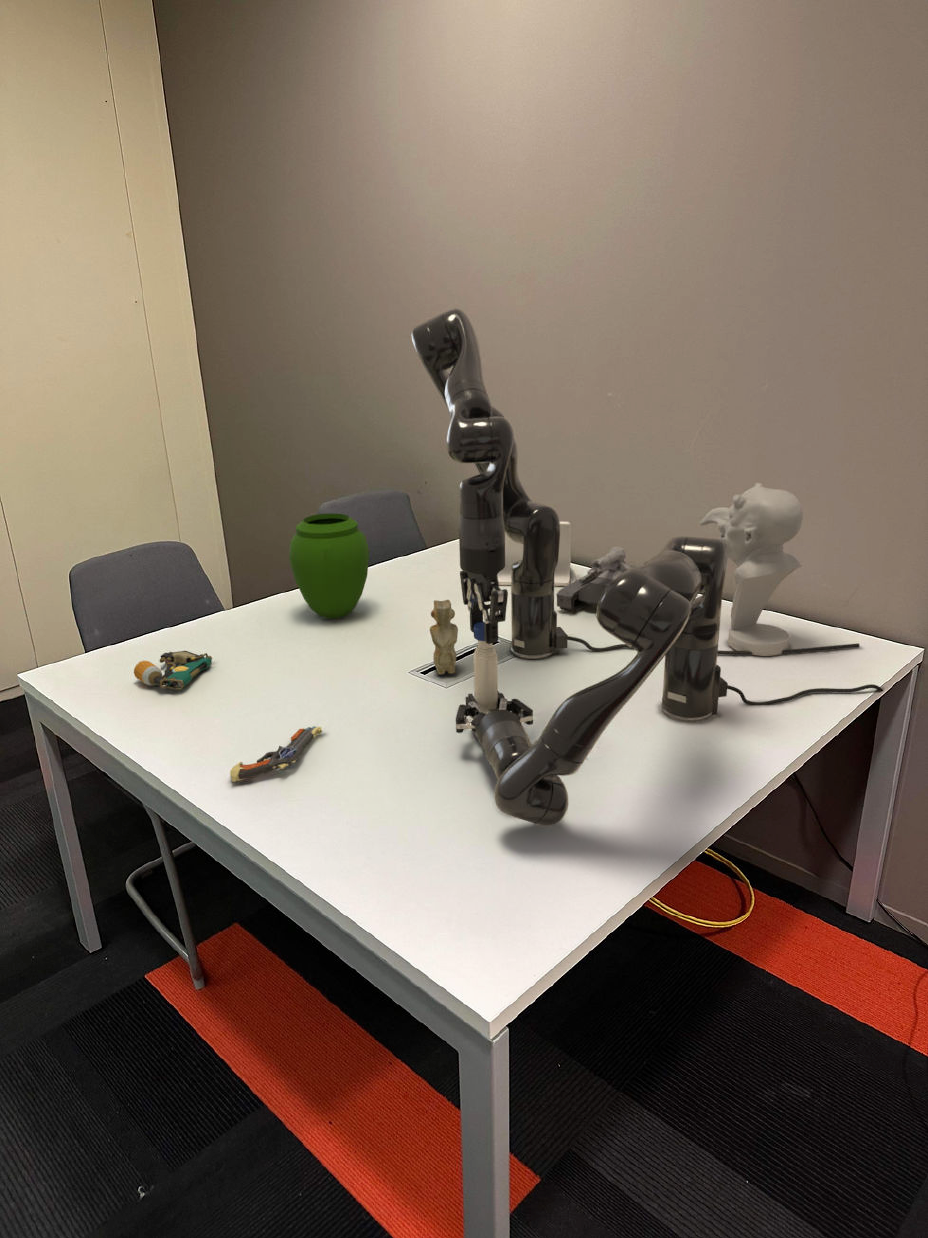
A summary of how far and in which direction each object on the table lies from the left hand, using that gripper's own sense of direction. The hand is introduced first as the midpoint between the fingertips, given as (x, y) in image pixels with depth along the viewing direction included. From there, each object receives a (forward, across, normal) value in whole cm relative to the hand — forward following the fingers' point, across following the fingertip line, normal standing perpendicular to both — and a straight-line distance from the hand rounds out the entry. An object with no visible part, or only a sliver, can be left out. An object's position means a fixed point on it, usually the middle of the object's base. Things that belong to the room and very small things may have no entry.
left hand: (484, 636), depth 146 cm
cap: (-2, 0, 0) cm, 2 cm away
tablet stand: (+19, -78, +50) cm, 95 cm away
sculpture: (+19, -29, +5) cm, 35 cm away
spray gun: (+19, -53, -47) cm, 73 cm away
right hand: (+13, -3, +1) cm, 13 cm away
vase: (+19, -74, -6) cm, 77 cm away
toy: (+19, -46, +58) cm, 77 cm away
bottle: (+19, 0, 0) cm, 19 cm away
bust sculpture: (+19, -12, +69) cm, 73 cm away
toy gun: (+19, -9, -36) cm, 41 cm away
